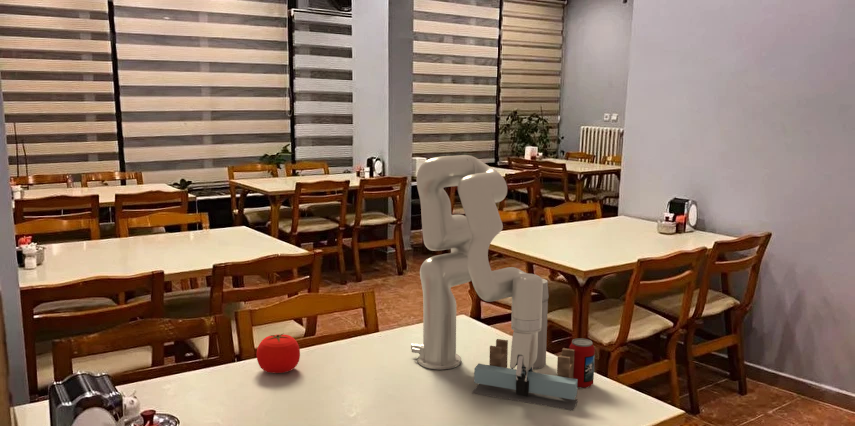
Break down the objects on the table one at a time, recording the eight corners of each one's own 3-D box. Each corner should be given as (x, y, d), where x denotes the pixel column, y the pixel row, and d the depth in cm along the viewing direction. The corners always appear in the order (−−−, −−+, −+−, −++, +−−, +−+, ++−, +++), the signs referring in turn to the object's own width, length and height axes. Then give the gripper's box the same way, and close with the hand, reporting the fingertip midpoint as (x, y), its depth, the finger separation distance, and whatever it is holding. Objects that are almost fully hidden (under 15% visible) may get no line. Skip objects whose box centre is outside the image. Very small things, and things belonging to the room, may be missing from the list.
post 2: (554, 397, 176) (555, 356, 175) (559, 387, 183) (561, 347, 181) (569, 400, 175) (571, 359, 173) (574, 389, 181) (576, 349, 180)
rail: (474, 382, 179) (474, 368, 179) (478, 377, 183) (478, 363, 182) (574, 399, 170) (574, 384, 169) (576, 394, 173) (577, 379, 172)
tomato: (297, 361, 200) (296, 326, 199) (303, 376, 189) (302, 339, 188) (255, 365, 197) (254, 330, 195) (258, 381, 186) (257, 344, 184)
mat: (472, 393, 179) (472, 391, 179) (479, 385, 184) (479, 383, 184) (573, 410, 169) (573, 408, 169) (577, 401, 174) (577, 399, 174)
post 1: (486, 386, 183) (487, 346, 181) (494, 376, 190) (495, 338, 188) (501, 388, 182) (502, 348, 180) (508, 378, 188) (509, 340, 187)
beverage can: (593, 390, 181) (595, 347, 179) (567, 388, 182) (569, 345, 180) (592, 380, 187) (594, 338, 185) (567, 378, 189) (569, 336, 187)
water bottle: (552, 366, 197) (555, 281, 193) (532, 372, 193) (534, 285, 189) (530, 356, 205) (532, 274, 201) (510, 361, 200) (512, 278, 196)
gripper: (520, 312, 182) (518, 377, 185) (502, 331, 167) (500, 402, 170) (548, 315, 179) (546, 382, 182) (532, 335, 164) (530, 407, 167)
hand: (524, 391), depth 176 cm, fingers closed on rail, 3 cm apart
